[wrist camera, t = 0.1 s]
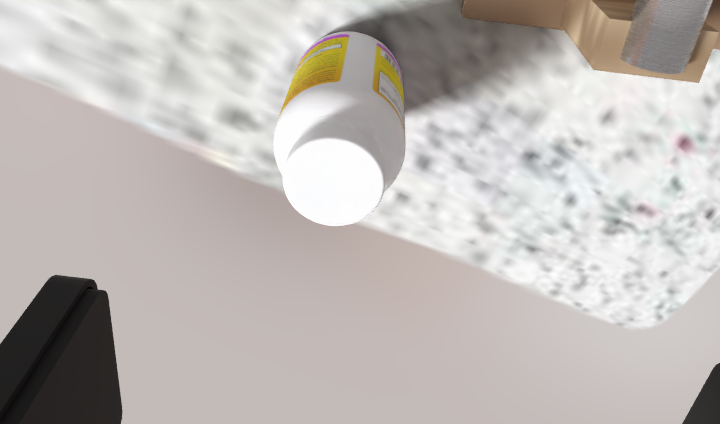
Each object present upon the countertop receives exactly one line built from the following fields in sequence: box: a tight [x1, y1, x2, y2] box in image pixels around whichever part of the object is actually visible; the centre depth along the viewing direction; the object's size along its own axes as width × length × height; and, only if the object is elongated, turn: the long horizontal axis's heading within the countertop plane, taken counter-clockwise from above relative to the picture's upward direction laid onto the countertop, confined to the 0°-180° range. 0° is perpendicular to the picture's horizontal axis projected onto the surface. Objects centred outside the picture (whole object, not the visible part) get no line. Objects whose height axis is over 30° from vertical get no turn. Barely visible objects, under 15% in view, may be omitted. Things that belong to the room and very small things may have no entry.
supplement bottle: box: [274, 32, 405, 226], centre depth 35 cm, size 7×7×13 cm
